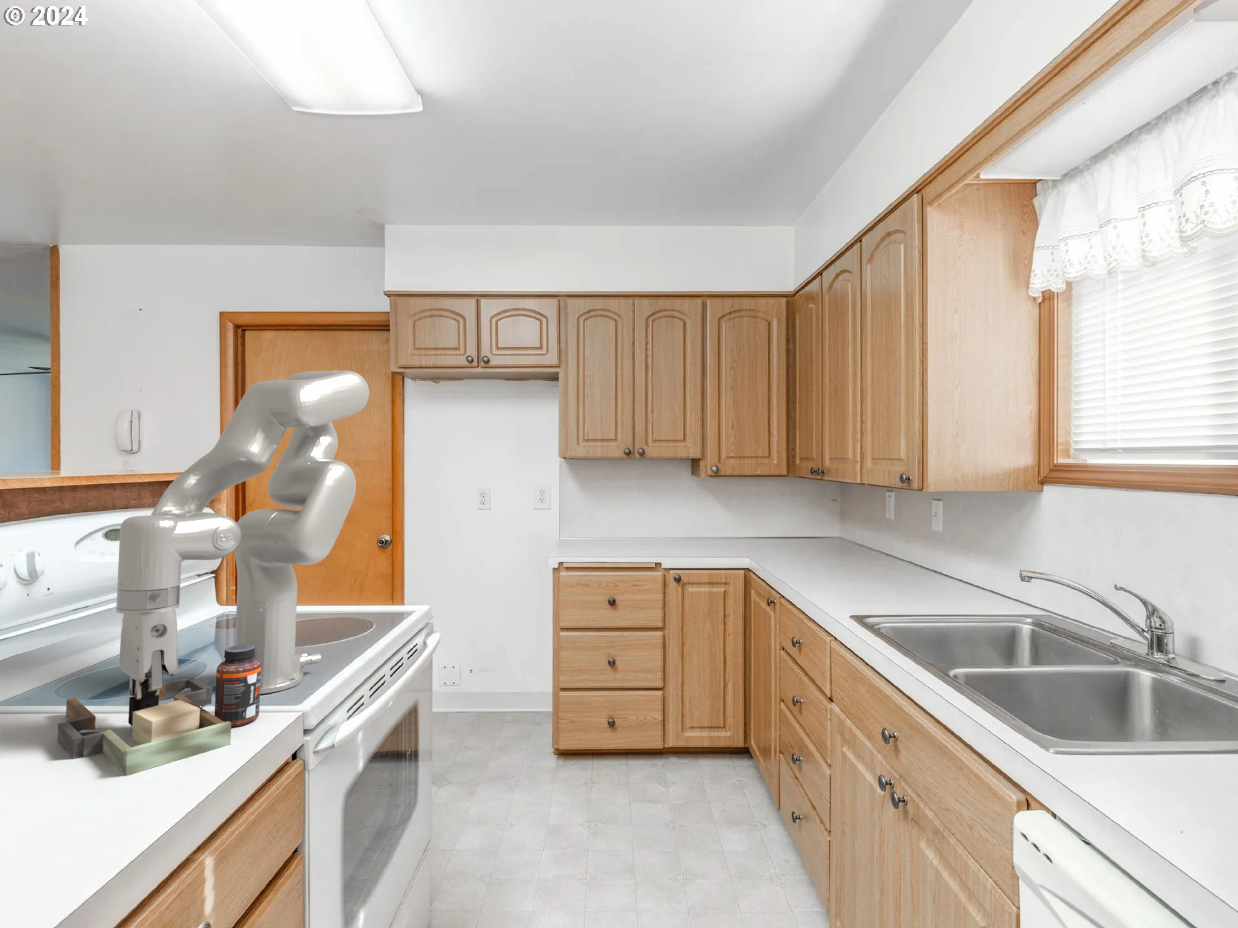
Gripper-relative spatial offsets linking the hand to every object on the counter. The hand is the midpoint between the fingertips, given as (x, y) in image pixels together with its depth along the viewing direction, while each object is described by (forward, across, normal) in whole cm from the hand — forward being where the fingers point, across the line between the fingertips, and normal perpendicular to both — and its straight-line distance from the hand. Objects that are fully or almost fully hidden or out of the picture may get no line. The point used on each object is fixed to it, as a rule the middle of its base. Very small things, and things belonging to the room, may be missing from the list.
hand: (143, 722), depth 92 cm
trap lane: (+1, -1, 0) cm, 1 cm away
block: (+1, -5, -1) cm, 5 cm away
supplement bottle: (+1, -6, -10) cm, 12 cm away
